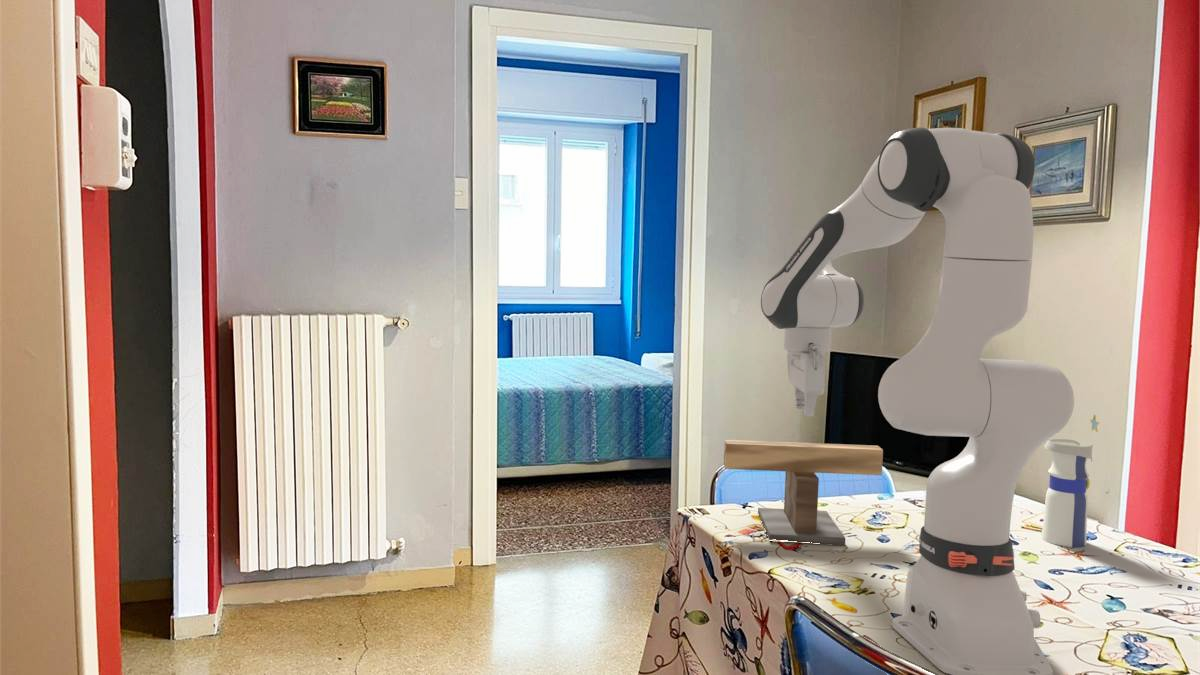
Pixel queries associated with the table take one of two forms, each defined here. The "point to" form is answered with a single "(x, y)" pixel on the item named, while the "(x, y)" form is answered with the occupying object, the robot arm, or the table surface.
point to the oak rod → (803, 457)
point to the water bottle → (1067, 492)
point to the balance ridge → (801, 514)
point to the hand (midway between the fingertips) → (804, 412)
